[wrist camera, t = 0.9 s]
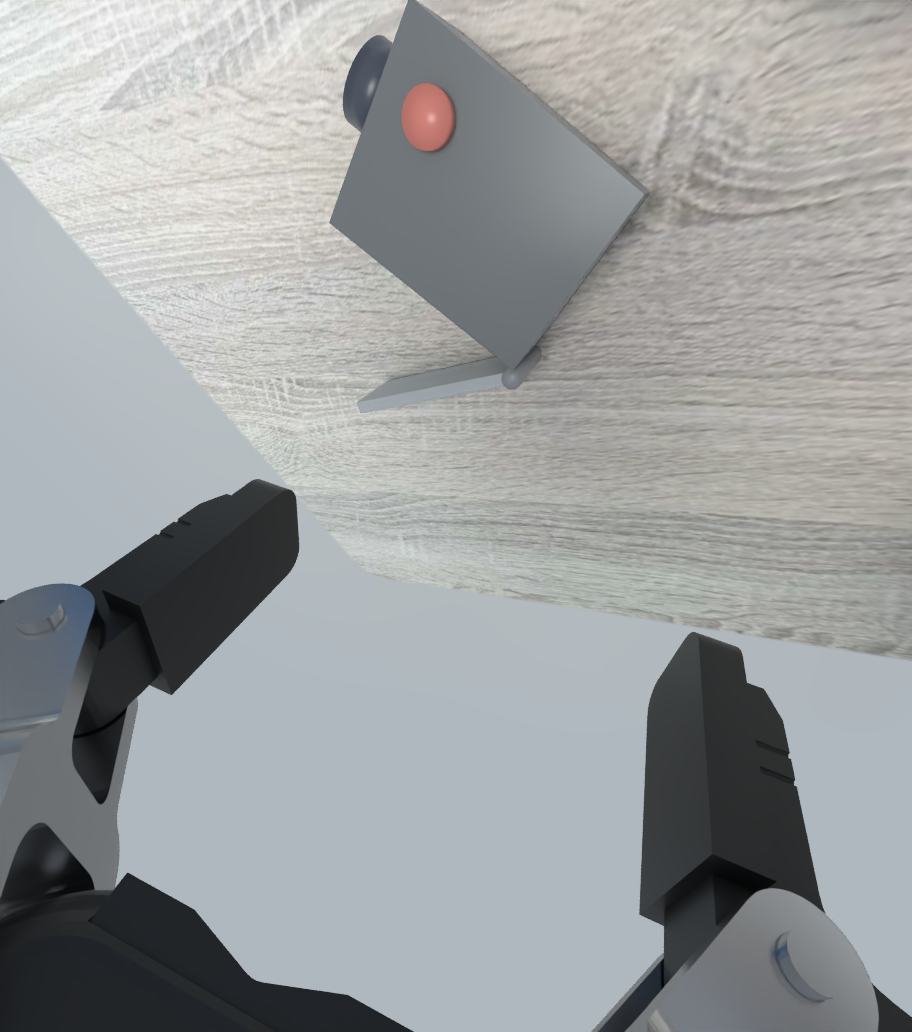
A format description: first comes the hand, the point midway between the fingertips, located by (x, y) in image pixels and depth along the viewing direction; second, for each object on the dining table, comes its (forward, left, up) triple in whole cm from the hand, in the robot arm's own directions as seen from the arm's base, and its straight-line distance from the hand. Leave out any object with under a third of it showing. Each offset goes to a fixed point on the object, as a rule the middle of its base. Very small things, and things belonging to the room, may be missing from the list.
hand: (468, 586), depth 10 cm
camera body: (+9, -1, -26) cm, 28 cm away
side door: (+6, +9, -26) cm, 28 cm away
